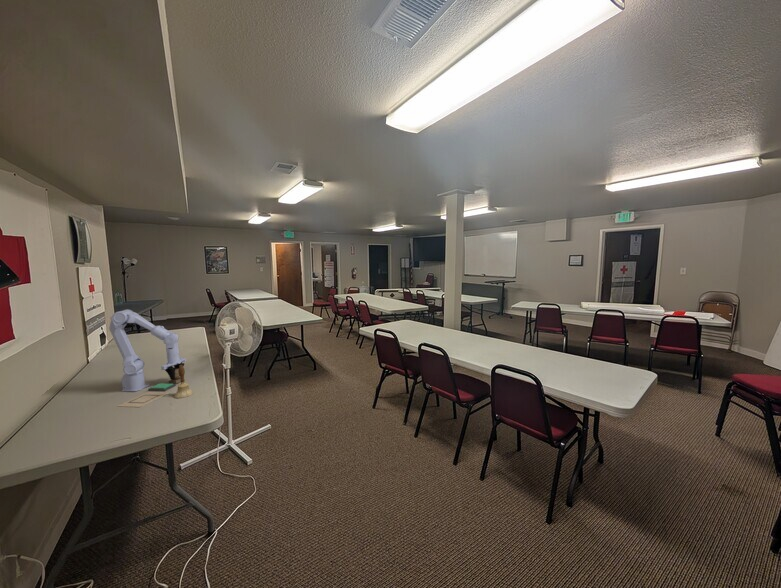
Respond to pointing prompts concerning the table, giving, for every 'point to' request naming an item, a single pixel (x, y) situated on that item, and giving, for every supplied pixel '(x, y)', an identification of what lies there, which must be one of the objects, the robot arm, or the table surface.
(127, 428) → the table surface
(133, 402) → the plate
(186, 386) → the hand bell
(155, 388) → the ink pad
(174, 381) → the stamp
